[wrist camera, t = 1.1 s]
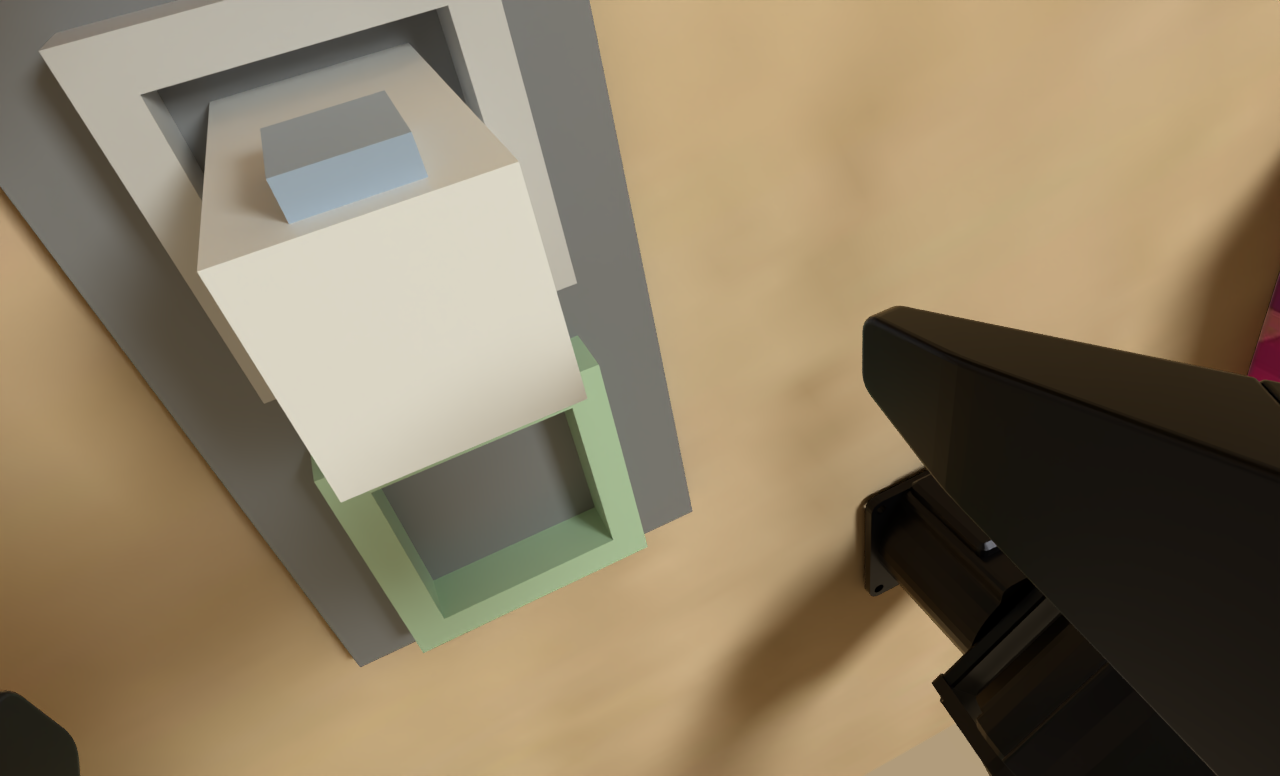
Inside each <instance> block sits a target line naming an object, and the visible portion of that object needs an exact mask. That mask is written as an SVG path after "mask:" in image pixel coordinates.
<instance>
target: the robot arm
mask: <svg viewBox="0 0 1280 776" xmlns="http://www.w3.org/2000/svg"><path fill="white" fill-rule="evenodd" d="M862 375H863V380H864V384H865V386H866V389H867V390H868V392H869V394H870V395H871V397H872V398H873V399H874V401H875V402H876V403H877V405H878V406H879V407H880V408H881V410H882V411H883V412H884V414H885V415H886V416H887V418H888V419H889V420H890V421H891V423H892V424H893V425H894V427H895V428H896V429H897V431H898V432H899V433H900V434H901V436H902V437H903V438H904V440H905V441H906V442H907V444H908V445H909V446H910V447H911V449H912V450H913V451H914V453H915V454H916V455H917V457H918V458H919V459H920V460H921V462H922V463H923V464H924V466H925V467H926V468H927V471H925V472H923V473H921V474H919V475H917V476H915V477H913V478H911V479H909V480H907V481H905V482H903V483H901V484H899V485H896V486H894V487H892V488H890V489H888V490H886V491H884V492H882V493H880V494H878V495H876V496H874V497H873V498H871V500H870V501H869V502H868V503H867V505H866V508H865V589H866V590H867V592H868V593H869V594H870V595H871V596H877V595H880V594H882V593H883V592H885V591H887V590H889V589H891V588H893V587H895V586H897V585H899V584H900V586H901V587H902V588H903V589H904V590H905V591H906V592H907V593H908V594H909V595H910V596H911V598H912V599H913V600H914V601H915V602H916V603H917V604H918V605H919V606H920V607H921V609H922V610H923V611H924V612H925V613H926V614H927V615H928V616H929V617H930V618H931V620H932V621H933V622H934V623H935V624H936V625H937V626H938V627H939V628H940V629H941V630H942V632H943V633H944V634H945V635H946V636H947V637H948V638H949V639H950V640H951V641H952V643H953V644H954V645H955V646H956V647H957V648H958V649H959V650H960V651H961V652H962V653H963V656H962V657H961V658H960V659H959V660H958V661H957V662H956V663H955V664H954V665H953V666H952V667H951V668H950V669H949V670H948V671H947V672H946V673H945V674H940V675H939V676H938V677H937V678H936V679H935V680H934V681H933V682H932V684H933V686H934V687H935V689H936V690H937V692H938V693H939V695H940V696H941V699H940V702H941V703H942V704H943V705H944V707H945V708H946V710H947V711H948V713H949V714H950V716H951V717H952V718H953V720H954V721H955V723H956V724H957V726H958V727H959V729H960V730H961V731H962V733H963V734H964V736H965V737H966V739H967V740H968V742H969V743H970V745H971V746H972V747H973V749H974V750H975V752H976V753H977V755H978V756H979V758H980V759H981V761H982V762H983V764H984V766H985V768H986V770H987V772H988V774H989V776H1280V382H1276V381H1271V380H1262V381H1260V382H1259V381H1258V380H1257V379H1256V378H1254V377H1250V376H1245V375H1240V374H1235V373H1230V372H1225V371H1221V370H1216V369H1211V368H1206V367H1201V366H1196V365H1191V364H1186V363H1181V362H1176V361H1171V360H1166V359H1161V358H1156V357H1151V356H1147V355H1142V354H1137V353H1132V352H1127V351H1122V350H1117V349H1112V348H1107V347H1102V346H1097V345H1092V344H1087V343H1082V342H1077V341H1073V340H1068V339H1063V338H1058V337H1053V336H1048V335H1043V334H1038V333H1033V332H1028V331H1023V330H1018V329H1013V328H1008V327H1003V326H999V325H994V324H989V323H984V322H979V321H974V320H969V319H964V318H959V317H954V316H949V315H944V314H939V313H934V312H929V311H925V310H920V309H915V308H910V307H905V306H894V307H891V308H889V309H886V310H884V311H882V312H880V313H877V314H875V315H873V316H870V317H869V318H868V319H867V320H866V321H865V323H864V326H863V342H862ZM0 776H80V768H79V756H78V751H77V748H76V744H75V742H74V740H73V738H72V737H71V736H70V734H69V733H68V732H67V731H66V730H65V729H64V728H63V727H61V726H60V725H59V724H57V723H56V722H55V721H53V720H52V719H51V718H50V717H48V716H47V715H46V714H44V713H43V712H42V711H40V710H39V709H38V708H37V707H35V706H34V705H33V704H31V703H30V702H29V701H27V700H26V699H25V698H24V697H22V696H21V695H19V694H17V693H16V692H11V691H6V690H5V691H0Z"/></svg>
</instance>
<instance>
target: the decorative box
mask: <svg viewBox="0 0 1280 776" xmlns="http://www.w3.org/2000/svg"><path fill="white" fill-rule="evenodd" d="M1247 376H1250V377H1254V378H1256V379H1257V380H1258V381H1259V382H1260V381H1262V380H1271V381H1276V382H1280V273H1279V276H1278V279H1277V282H1276V285H1275V289H1274V292H1273V295H1272V298H1271V301H1270V305H1269V308H1268V311H1267V314H1266V317H1265V321H1264V324H1263V327H1262V330H1261V333H1260V337H1259V340H1258V343H1257V346H1256V349H1255V353H1254V356H1253V359H1252V362H1251V365H1250V369H1249V372H1248V375H1247Z"/></svg>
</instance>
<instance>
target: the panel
mask: <svg viewBox="0 0 1280 776" xmlns="http://www.w3.org/2000/svg"><path fill="white" fill-rule="evenodd" d="M406 43H409V44H410V45H411V46H412V47H413V48H414V49H415V50H416V51H417V52H418V53H419V55H420V56H421V57H422V58H423V59H424V60H425V61H426V62H427V63H428V64H429V65H430V66H431V67H432V69H433V70H434V71H435V72H436V73H437V74H438V75H439V76H440V77H441V78H442V79H443V80H444V81H445V83H446V84H447V85H448V86H449V87H450V88H451V89H452V90H453V91H454V92H455V93H456V94H457V95H458V97H459V98H460V99H461V100H462V101H463V102H464V103H465V104H466V105H467V106H468V107H469V108H470V109H471V110H472V112H473V113H474V114H475V115H476V116H477V117H478V118H479V119H480V120H481V121H482V122H483V123H484V124H485V126H486V127H487V128H488V129H489V130H490V131H491V132H492V133H493V134H494V135H495V136H496V137H497V138H498V140H499V141H500V142H501V143H502V144H503V145H504V146H505V147H506V148H507V149H508V150H509V151H510V152H511V154H512V155H513V156H514V157H515V158H516V159H517V160H518V161H519V164H520V167H521V170H522V174H523V177H524V181H525V184H526V188H527V191H528V195H529V198H530V202H531V205H532V208H533V212H534V215H535V219H536V222H537V226H538V229H539V233H540V236H541V240H542V243H543V246H544V250H545V253H546V257H547V260H548V264H549V267H550V271H551V274H552V278H553V281H554V284H555V288H556V291H557V295H558V298H559V302H560V305H561V309H562V312H563V316H564V319H565V322H566V326H567V329H568V333H569V336H570V340H571V343H572V347H573V350H574V354H575V357H576V360H577V364H578V367H579V371H580V374H581V378H582V381H583V385H584V388H585V392H586V395H587V398H588V399H586V400H584V401H581V402H579V403H576V404H574V405H572V406H569V407H567V408H564V409H562V410H560V411H557V412H555V413H553V414H550V415H548V416H545V417H543V418H541V419H538V420H536V421H534V422H531V423H529V424H526V425H524V426H522V427H519V428H517V429H515V430H512V431H510V432H507V433H505V434H503V435H500V436H498V437H496V438H493V439H491V440H488V441H486V442H484V443H481V444H479V445H477V446H474V447H472V448H469V449H467V450H465V451H462V452H460V453H458V454H455V455H453V456H450V457H448V458H446V459H443V460H441V461H439V462H436V463H434V464H431V465H429V466H427V467H424V468H422V469H420V470H417V471H415V472H412V473H410V474H408V475H405V476H403V477H401V478H398V479H396V480H393V481H391V482H389V483H386V484H384V485H382V486H379V487H377V488H374V489H372V490H370V491H367V492H365V493H363V494H360V495H358V496H355V497H353V498H351V499H348V500H346V501H344V502H340V500H339V499H338V497H337V496H336V494H335V492H334V491H333V489H332V488H331V486H330V484H329V483H328V481H327V480H326V478H325V476H324V475H323V473H322V472H321V470H320V468H319V467H318V465H317V464H316V462H315V460H314V459H313V457H312V455H311V454H310V452H309V451H308V449H307V447H306V446H305V444H304V443H303V441H302V439H301V438H300V436H299V435H298V433H297V431H296V430H295V428H294V427H293V425H292V423H291V422H290V420H289V419H288V417H287V415H286V414H285V412H284V411H283V409H282V407H281V406H280V404H279V403H278V401H277V399H276V398H275V396H274V395H273V393H272V391H271V390H270V388H269V386H268V385H267V383H266V382H265V380H264V378H263V377H262V375H261V374H260V372H259V370H258V369H257V367H256V366H255V364H254V362H253V361H252V359H251V358H250V356H249V354H248V353H247V351H246V350H245V348H244V346H243V345H242V343H241V342H240V340H239V338H238V337H237V335H236V334H235V332H234V330H233V329H232V327H231V326H230V324H229V322H228V321H227V319H226V317H225V316H224V314H223V313H222V311H221V309H220V308H219V306H218V305H217V303H216V301H215V300H214V298H213V297H212V295H211V293H210V292H209V290H208V289H207V287H206V285H205V284H204V282H203V281H202V279H201V277H200V276H199V274H198V273H197V265H198V251H199V238H200V225H201V211H202V198H203V184H204V171H205V158H206V144H207V131H208V118H209V104H210V102H211V101H215V100H218V99H221V98H225V97H228V96H232V95H235V94H238V93H242V92H245V91H248V90H252V89H255V88H258V87H262V86H265V85H269V84H272V83H275V82H279V81H282V80H285V79H289V78H292V77H295V76H299V75H302V74H305V73H309V72H312V71H316V70H319V69H322V68H326V67H329V66H332V65H336V64H339V63H342V62H346V61H349V60H352V59H356V58H359V57H363V56H366V55H369V54H373V53H376V52H379V51H383V50H386V49H389V48H393V47H396V46H399V45H403V44H406ZM0 187H1V188H2V189H3V191H4V192H5V193H6V195H7V196H8V197H9V199H10V200H11V201H12V203H13V204H14V205H15V207H16V208H17V209H18V211H19V212H20V213H21V215H22V216H23V217H24V219H25V220H26V221H27V223H28V224H29V225H30V227H31V228H32V229H33V231H34V232H35V233H36V235H37V236H38V237H39V239H40V240H41V241H42V243H43V244H44V245H45V247H46V248H47V249H48V251H49V252H50V253H51V255H52V256H53V257H54V259H55V260H56V262H57V263H58V264H59V266H60V267H61V268H62V270H63V271H64V272H65V274H66V275H67V276H68V278H69V279H70V280H71V282H72V283H73V284H74V286H75V287H76V288H77V290H78V291H79V292H80V294H81V295H82V296H83V298H84V299H85V300H86V302H87V303H88V304H89V306H90V307H91V308H92V310H93V311H94V312H95V314H96V315H97V316H98V318H99V319H100V320H101V322H102V323H103V324H104V326H105V327H106V328H107V330H108V331H109V332H110V334H111V335H112V336H113V338H114V339H115V340H116V342H117V343H118V344H119V346H120V347H121V348H122V350H123V351H124V352H125V354H126V355H127V356H128V358H129V359H130V360H131V362H132V363H133V364H134V366H135V367H136V368H137V370H138V371H139V372H140V374H141V375H142V376H143V378H144V379H145V380H146V382H147V383H148V384H149V386H150V387H151V388H152V390H153V391H154V392H155V394H156V395H157V396H158V398H159V399H160V400H161V402H162V403H163V404H164V406H165V407H166V408H167V410H168V411H169V412H170V414H171V415H172V416H173V418H174V419H175V420H176V422H177V423H178V425H179V426H180V427H181V429H182V430H183V431H184V433H185V434H186V435H187V437H188V438H189V439H190V441H191V442H192V443H193V445H194V446H195V447H196V449H197V450H198V451H199V453H200V454H201V455H202V457H203V458H204V459H205V461H206V462H207V463H208V465H209V466H210V467H211V469H212V470H213V471H214V473H215V474H216V475H217V477H218V478H219V479H220V481H221V482H222V483H223V485H224V486H225V487H226V489H227V490H228V491H229V493H230V494H231V495H232V497H233V498H234V499H235V501H236V502H237V503H238V505H239V506H240V507H241V509H242V510H243V511H244V513H245V514H246V515H247V517H248V518H249V519H250V521H251V522H252V523H253V525H254V526H255V527H256V529H257V530H258V531H259V533H260V534H261V535H262V537H263V538H264V539H265V541H266V542H267V543H268V545H269V546H270V547H271V549H272V550H273V551H274V553H275V554H276V555H277V557H278V558H279V559H280V561H281V562H282V563H283V565H284V566H285V567H286V569H287V570H288V571H289V573H290V574H291V575H292V577H293V578H294V579H295V581H296V582H297V583H298V585H299V586H300V588H301V589H302V590H303V592H304V593H305V594H306V596H307V597H308V598H309V600H310V601H311V602H312V604H313V605H314V606H315V608H316V609H317V610H318V612H319V613H320V614H321V616H322V617H323V618H324V620H325V621H326V622H327V624H328V625H329V626H330V628H331V629H332V630H333V632H334V633H335V634H336V636H337V637H338V638H339V640H340V641H341V642H342V644H343V645H344V646H345V648H346V649H347V650H348V652H349V653H350V654H351V656H352V657H353V658H354V660H355V661H356V662H357V664H358V665H359V666H360V667H362V666H364V665H366V664H368V663H371V662H373V661H375V660H377V659H379V658H381V657H383V656H385V655H388V654H390V653H392V652H394V651H396V650H398V649H400V648H402V647H405V646H407V645H409V644H411V643H413V642H415V641H416V642H417V644H418V645H419V647H420V648H421V650H422V651H423V653H425V652H427V651H429V650H431V649H433V648H435V647H437V646H439V645H442V644H444V643H446V642H448V641H450V640H452V639H454V638H456V637H458V636H461V635H463V634H465V633H467V632H469V631H471V630H473V629H475V628H477V627H480V626H482V625H484V624H486V623H488V622H490V621H492V620H494V619H496V618H498V617H501V616H503V615H505V614H507V613H509V612H511V611H513V610H515V609H517V608H520V607H522V606H524V605H526V604H528V603H530V602H532V601H534V600H536V599H539V598H541V597H543V596H545V595H547V594H549V593H551V592H553V591H555V590H558V589H560V588H562V587H564V586H566V585H568V584H570V583H572V582H574V581H577V580H579V579H581V578H583V577H585V576H587V575H589V574H591V573H593V572H596V571H598V570H600V569H602V568H604V567H606V566H608V565H610V564H612V563H615V562H617V561H619V560H621V559H623V558H625V557H627V556H629V555H631V554H634V553H636V552H638V551H640V550H642V549H644V548H646V547H648V546H647V543H646V539H645V535H644V534H645V533H647V532H650V531H652V530H654V529H656V528H658V527H660V526H662V525H664V524H667V523H669V522H671V521H673V520H675V519H677V518H679V517H681V516H684V515H686V514H688V513H690V512H692V507H691V502H690V497H689V492H688V487H687V482H686V477H685V472H684V467H683V462H682V458H681V453H680V448H679V443H678V438H677V433H676V428H675V423H674V418H673V413H672V408H671V403H670V398H669V393H668V388H667V383H666V378H665V373H664V368H663V363H662V358H661V353H660V348H659V343H658V338H657V333H656V329H655V324H654V319H653V314H652V309H651V304H650V299H649V294H648V289H647V284H646V279H645V274H644V269H643V264H642V259H641V254H640V249H639V244H638V239H637V234H636V229H635V224H634V219H633V214H632V209H631V204H630V199H629V195H628V190H627V185H626V180H625V175H624V170H623V165H622V160H621V155H620V150H619V145H618V140H617V135H616V130H615V125H614V120H613V115H612V110H611V105H610V100H609V95H608V90H607V85H606V80H605V75H604V70H603V66H602V61H601V56H600V51H599V46H598V41H597V36H596V31H595V26H594V21H593V16H592V11H591V6H590V1H589V0H0Z"/></svg>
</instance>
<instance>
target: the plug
mask: <svg viewBox="0 0 1280 776" xmlns="http://www.w3.org/2000/svg"><path fill="white" fill-rule="evenodd" d="M197 273H198V274H199V276H200V277H201V279H202V281H203V282H204V284H205V285H206V287H207V289H208V290H209V292H210V293H211V295H212V297H213V298H214V300H215V301H216V303H217V305H218V306H219V308H220V309H221V311H222V313H223V314H224V316H225V317H226V319H227V321H228V322H229V324H230V326H231V327H232V329H233V330H234V332H235V334H236V335H237V337H238V338H239V340H240V342H241V343H242V345H243V346H244V348H245V350H246V351H247V353H248V354H249V356H250V358H251V359H252V361H253V362H254V364H255V366H256V367H257V369H258V370H259V372H260V374H261V375H262V377H263V378H264V380H265V382H266V383H267V385H268V386H269V388H270V390H271V391H272V393H273V395H274V396H275V398H276V399H277V401H278V403H279V404H280V406H281V407H282V409H283V411H284V412H285V414H286V415H287V417H288V419H289V420H290V422H291V423H292V425H293V427H294V428H295V430H296V431H297V433H298V435H299V436H300V438H301V439H302V441H303V443H304V444H305V446H306V447H307V449H308V451H309V452H310V454H311V455H312V457H313V459H314V460H315V462H316V464H317V465H318V467H319V468H320V470H321V472H322V473H323V475H324V476H325V478H326V480H327V481H328V483H329V484H330V486H331V488H332V489H333V491H334V492H335V494H336V496H337V497H338V499H339V500H340V502H344V501H346V500H348V499H351V498H353V497H355V496H358V495H360V494H363V493H365V492H367V491H370V490H372V489H374V488H377V487H379V486H382V485H384V484H386V483H389V482H391V481H393V480H396V479H398V478H401V477H403V476H405V475H408V474H410V473H412V472H415V471H417V470H420V469H422V468H424V467H427V466H429V465H431V464H434V463H436V462H439V461H441V460H443V459H446V458H448V457H450V456H453V455H455V454H458V453H460V452H462V451H465V450H467V449H469V448H472V447H474V446H477V445H479V444H481V443H484V442H486V441H488V440H491V439H493V438H496V437H498V436H500V435H503V434H505V433H507V432H510V431H512V430H515V429H517V428H519V427H522V426H524V425H526V424H529V423H531V422H534V421H536V420H538V419H541V418H543V417H545V416H548V415H550V414H553V413H555V412H557V411H560V410H562V409H564V408H567V407H569V406H572V405H574V404H576V403H579V402H581V401H584V400H586V399H588V398H587V395H586V392H585V388H584V385H583V381H582V378H581V374H580V371H579V367H578V364H577V360H576V357H575V354H574V350H573V347H572V343H571V340H570V336H569V333H568V329H567V326H566V322H565V319H564V316H563V312H562V309H561V305H560V302H559V298H558V295H557V291H556V288H555V284H554V281H553V278H552V274H551V271H550V267H549V264H548V260H547V257H546V253H545V250H544V246H543V243H542V240H541V236H540V233H539V229H538V226H537V222H536V219H535V215H534V212H533V208H532V205H531V202H530V198H529V195H528V191H527V188H526V184H525V181H524V177H523V174H522V170H521V167H520V164H519V161H518V160H517V159H516V158H515V157H514V156H513V155H512V154H511V152H510V151H509V150H508V149H507V148H506V147H505V146H504V145H503V144H502V143H501V142H500V141H499V140H498V138H497V137H496V136H495V135H494V134H493V133H492V132H491V131H490V130H489V129H488V128H487V127H486V126H485V124H484V123H483V122H482V121H481V120H480V119H479V118H478V117H477V116H476V115H475V114H474V113H473V112H472V110H471V109H470V108H469V107H468V106H467V105H466V104H465V103H464V102H463V101H462V100H461V99H460V98H459V97H458V95H457V94H456V93H455V92H454V91H453V90H452V89H451V88H450V87H449V86H448V85H447V84H446V83H445V81H444V80H443V79H442V78H441V77H440V76H439V75H438V74H437V73H436V72H435V71H434V70H433V69H432V67H431V66H430V65H429V64H428V63H427V62H426V61H425V60H424V59H423V58H422V57H421V56H420V55H419V53H418V52H417V51H416V50H415V49H414V48H413V47H412V46H411V45H410V44H409V43H406V44H403V45H399V46H396V47H393V48H389V49H386V50H383V51H379V52H376V53H373V54H369V55H366V56H363V57H359V58H356V59H352V60H349V61H346V62H342V63H339V64H336V65H332V66H329V67H326V68H322V69H319V70H316V71H312V72H309V73H305V74H302V75H299V76H295V77H292V78H289V79H285V80H282V81H279V82H275V83H272V84H269V85H265V86H262V87H258V88H255V89H252V90H248V91H245V92H242V93H238V94H235V95H232V96H228V97H225V98H221V99H218V100H215V101H211V102H210V104H209V118H208V131H207V144H206V158H205V171H204V184H203V198H202V211H201V225H200V238H199V251H198V265H197Z"/></svg>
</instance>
